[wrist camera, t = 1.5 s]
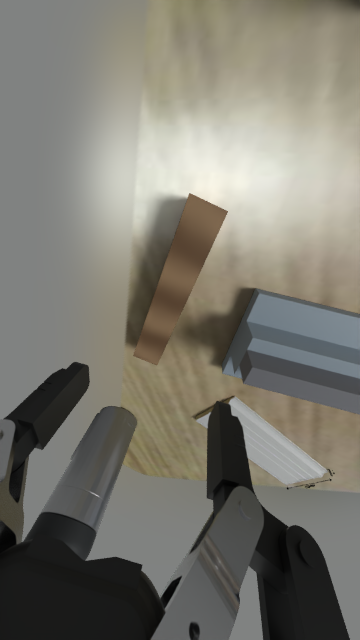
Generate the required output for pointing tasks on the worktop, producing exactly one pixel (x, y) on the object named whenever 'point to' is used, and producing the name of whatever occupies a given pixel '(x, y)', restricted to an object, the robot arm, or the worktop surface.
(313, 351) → the ridge stand
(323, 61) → the worktop surface
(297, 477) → the baseboard molding
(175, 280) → the walnut batten
